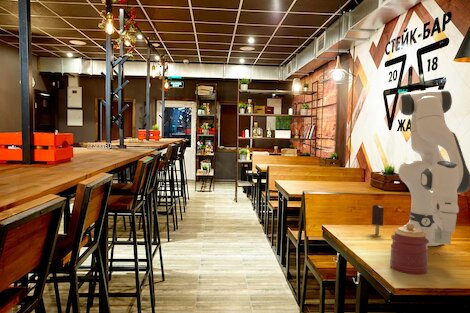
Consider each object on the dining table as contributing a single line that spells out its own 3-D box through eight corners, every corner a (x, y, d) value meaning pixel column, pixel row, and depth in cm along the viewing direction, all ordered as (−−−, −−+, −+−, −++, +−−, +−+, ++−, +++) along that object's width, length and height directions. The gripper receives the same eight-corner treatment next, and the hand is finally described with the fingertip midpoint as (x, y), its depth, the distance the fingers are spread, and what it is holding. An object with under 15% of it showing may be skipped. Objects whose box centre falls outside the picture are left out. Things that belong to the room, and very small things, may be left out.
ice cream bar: (382, 234, 196) (383, 205, 195) (382, 235, 195) (383, 205, 194) (371, 233, 199) (373, 204, 198) (371, 233, 197) (372, 204, 196)
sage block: (432, 239, 154) (433, 228, 154) (447, 241, 153) (448, 230, 152) (434, 242, 151) (435, 231, 150) (450, 244, 149) (451, 232, 149)
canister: (432, 277, 138) (435, 228, 137) (394, 274, 140) (396, 226, 139) (421, 264, 151) (423, 220, 150) (386, 262, 153) (388, 218, 152)
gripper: (429, 197, 161) (427, 230, 162) (441, 208, 142) (438, 244, 143) (446, 198, 159) (444, 231, 161) (460, 209, 140) (457, 246, 141)
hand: (441, 237), depth 152 cm, fingers closed on sage block, 4 cm apart
